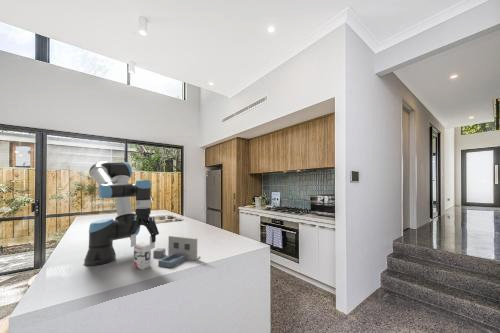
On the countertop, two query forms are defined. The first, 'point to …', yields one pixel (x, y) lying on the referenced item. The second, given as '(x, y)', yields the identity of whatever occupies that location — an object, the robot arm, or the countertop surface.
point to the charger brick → (159, 253)
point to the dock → (172, 260)
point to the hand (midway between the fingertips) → (142, 247)
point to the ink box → (142, 255)
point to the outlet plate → (183, 247)
